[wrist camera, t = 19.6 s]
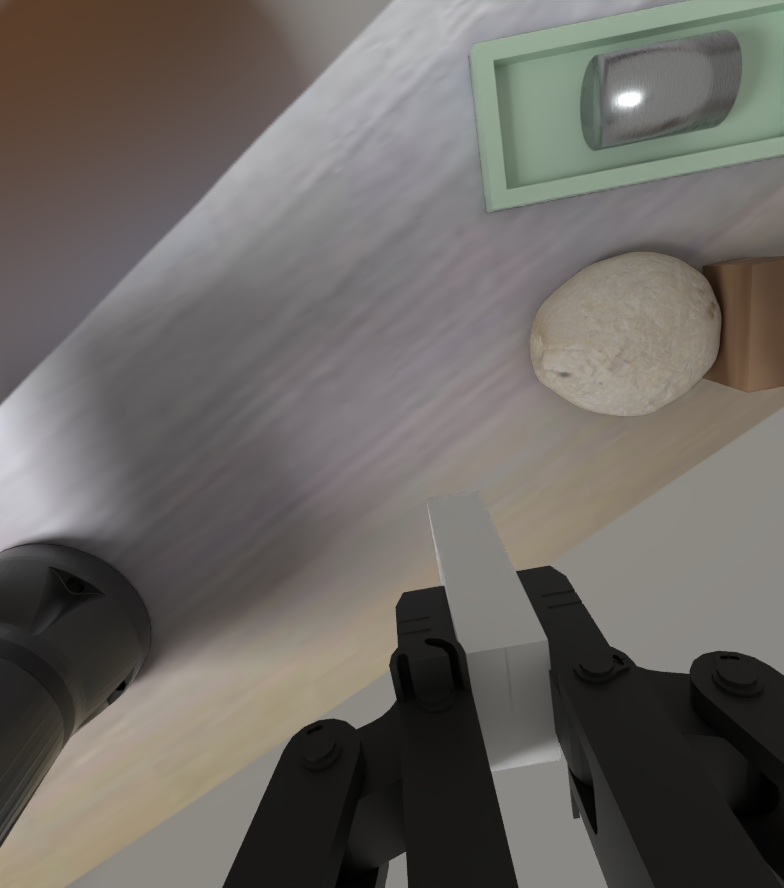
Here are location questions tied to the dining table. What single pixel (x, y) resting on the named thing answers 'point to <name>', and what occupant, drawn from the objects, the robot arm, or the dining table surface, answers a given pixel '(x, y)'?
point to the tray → (559, 91)
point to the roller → (660, 89)
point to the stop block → (749, 323)
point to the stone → (627, 334)
